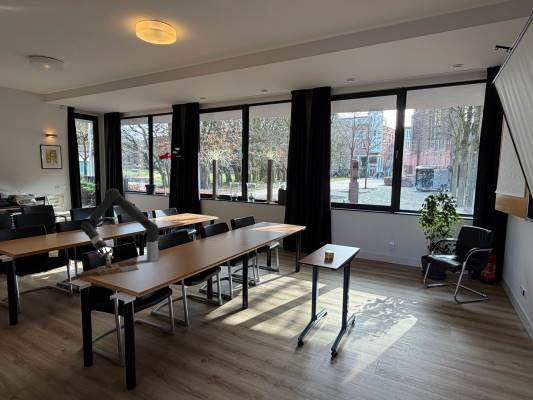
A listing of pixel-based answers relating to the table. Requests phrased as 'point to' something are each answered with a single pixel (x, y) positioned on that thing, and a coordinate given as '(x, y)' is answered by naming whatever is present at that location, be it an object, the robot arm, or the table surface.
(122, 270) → the mat
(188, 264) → the table surface
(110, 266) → the wheel peg
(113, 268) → the eye block
